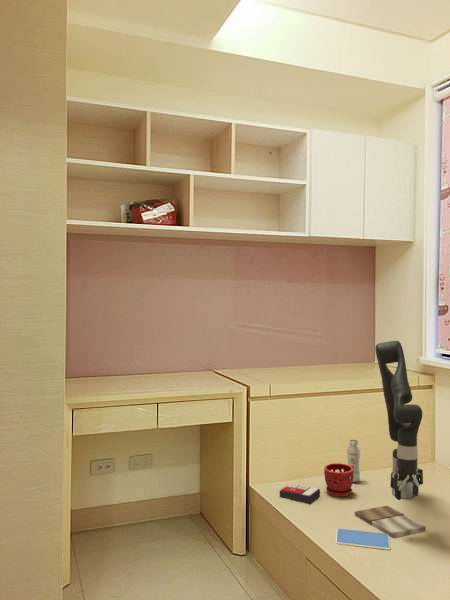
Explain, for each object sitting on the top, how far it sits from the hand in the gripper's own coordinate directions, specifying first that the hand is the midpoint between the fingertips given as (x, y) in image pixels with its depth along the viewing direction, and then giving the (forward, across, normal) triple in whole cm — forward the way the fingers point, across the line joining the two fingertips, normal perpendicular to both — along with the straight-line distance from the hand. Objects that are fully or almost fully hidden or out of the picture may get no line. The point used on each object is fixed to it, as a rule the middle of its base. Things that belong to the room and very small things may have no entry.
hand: (406, 497), depth 207 cm
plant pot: (+13, +1, -42) cm, 44 cm away
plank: (+13, +1, -3) cm, 13 cm away
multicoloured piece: (+14, +19, -46) cm, 51 cm away
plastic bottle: (+14, -15, -52) cm, 56 cm away
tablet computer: (+13, +21, 0) cm, 25 cm away
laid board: (+13, +1, -14) cm, 19 cm away
